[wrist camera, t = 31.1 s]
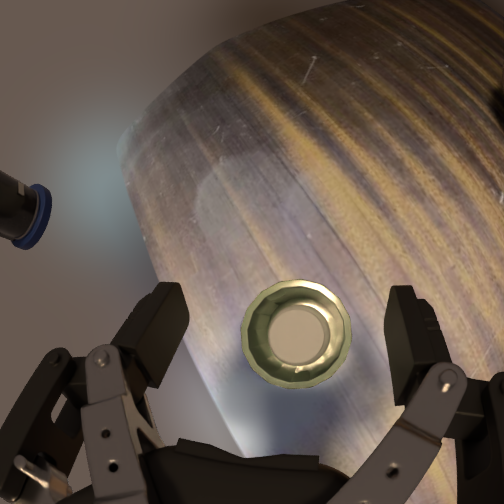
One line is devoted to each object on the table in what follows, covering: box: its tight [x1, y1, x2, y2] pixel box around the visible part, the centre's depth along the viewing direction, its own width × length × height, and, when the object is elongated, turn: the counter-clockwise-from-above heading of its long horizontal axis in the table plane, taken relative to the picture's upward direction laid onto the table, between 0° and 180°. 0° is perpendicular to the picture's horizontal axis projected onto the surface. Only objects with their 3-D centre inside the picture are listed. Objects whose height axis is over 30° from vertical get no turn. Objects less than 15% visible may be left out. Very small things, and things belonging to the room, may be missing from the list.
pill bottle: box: [268, 305, 330, 366], centre depth 21 cm, size 4×4×8 cm
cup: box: [241, 279, 352, 389], centre depth 21 cm, size 7×7×8 cm
